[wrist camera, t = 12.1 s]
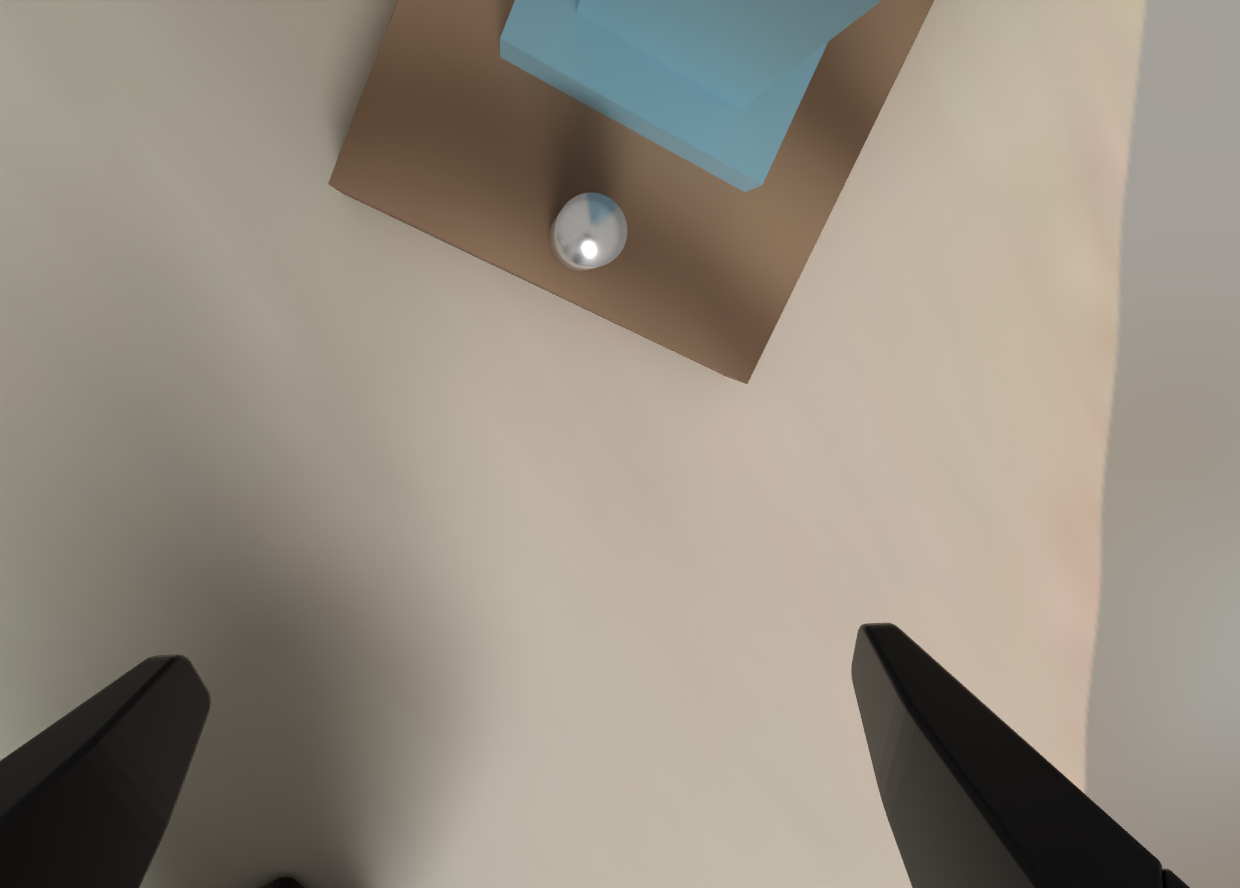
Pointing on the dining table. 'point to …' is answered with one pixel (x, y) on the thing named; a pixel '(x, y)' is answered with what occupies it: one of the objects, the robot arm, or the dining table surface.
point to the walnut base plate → (610, 176)
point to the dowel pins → (588, 232)
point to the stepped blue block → (684, 68)
